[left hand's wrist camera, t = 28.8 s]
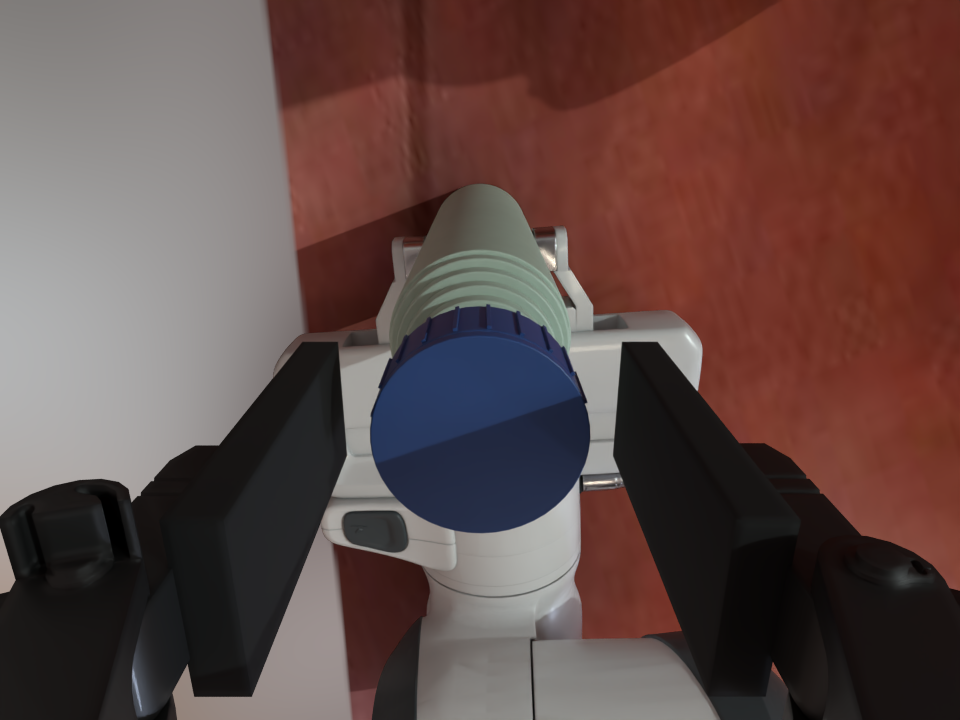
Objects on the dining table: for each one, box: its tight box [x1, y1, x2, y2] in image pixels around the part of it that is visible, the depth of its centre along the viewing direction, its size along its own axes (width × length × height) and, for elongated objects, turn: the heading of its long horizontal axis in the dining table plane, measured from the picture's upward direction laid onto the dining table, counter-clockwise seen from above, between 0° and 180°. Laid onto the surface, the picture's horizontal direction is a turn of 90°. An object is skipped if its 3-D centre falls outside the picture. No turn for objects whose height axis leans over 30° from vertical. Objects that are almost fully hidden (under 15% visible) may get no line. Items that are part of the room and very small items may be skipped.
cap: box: [370, 304, 590, 533], centre depth 13 cm, size 4×4×2 cm
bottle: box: [389, 184, 571, 358], centre depth 24 cm, size 5×5×24 cm
